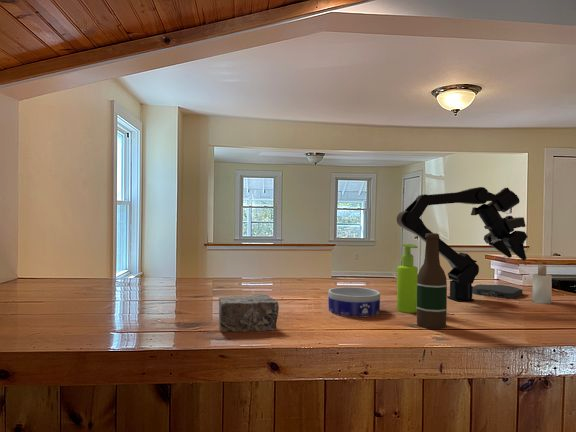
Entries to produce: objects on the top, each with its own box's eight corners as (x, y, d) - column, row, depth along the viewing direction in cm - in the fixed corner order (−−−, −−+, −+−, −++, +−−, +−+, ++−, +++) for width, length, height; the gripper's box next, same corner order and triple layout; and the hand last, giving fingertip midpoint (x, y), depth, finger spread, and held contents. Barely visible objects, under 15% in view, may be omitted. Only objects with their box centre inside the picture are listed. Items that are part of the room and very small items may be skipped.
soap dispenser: (405, 314, 118) (406, 245, 118) (393, 308, 125) (393, 243, 125) (423, 313, 120) (423, 244, 120) (410, 307, 127) (410, 243, 126)
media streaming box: (525, 295, 150) (525, 287, 150) (511, 300, 140) (511, 292, 140) (484, 289, 161) (484, 282, 161) (468, 294, 151) (468, 286, 151)
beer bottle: (422, 320, 112) (423, 232, 112) (451, 325, 107) (452, 233, 107) (410, 325, 106) (411, 233, 106) (441, 331, 101) (442, 234, 101)
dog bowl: (364, 304, 132) (364, 285, 132) (390, 315, 117) (390, 294, 117) (320, 307, 127) (320, 287, 127) (341, 319, 112) (341, 297, 112)
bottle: (541, 304, 134) (541, 266, 134) (528, 300, 139) (529, 264, 139) (555, 303, 135) (555, 266, 135) (542, 300, 140) (542, 264, 140)
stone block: (270, 321, 109) (270, 293, 110) (278, 330, 101) (279, 299, 101) (217, 324, 106) (217, 295, 106) (221, 334, 97) (221, 302, 97)
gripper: (528, 206, 130) (554, 247, 129) (499, 207, 148) (522, 243, 148) (497, 225, 130) (524, 266, 130) (473, 224, 149) (496, 260, 148)
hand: (517, 258), depth 139 cm, fingers open, 9 cm apart
